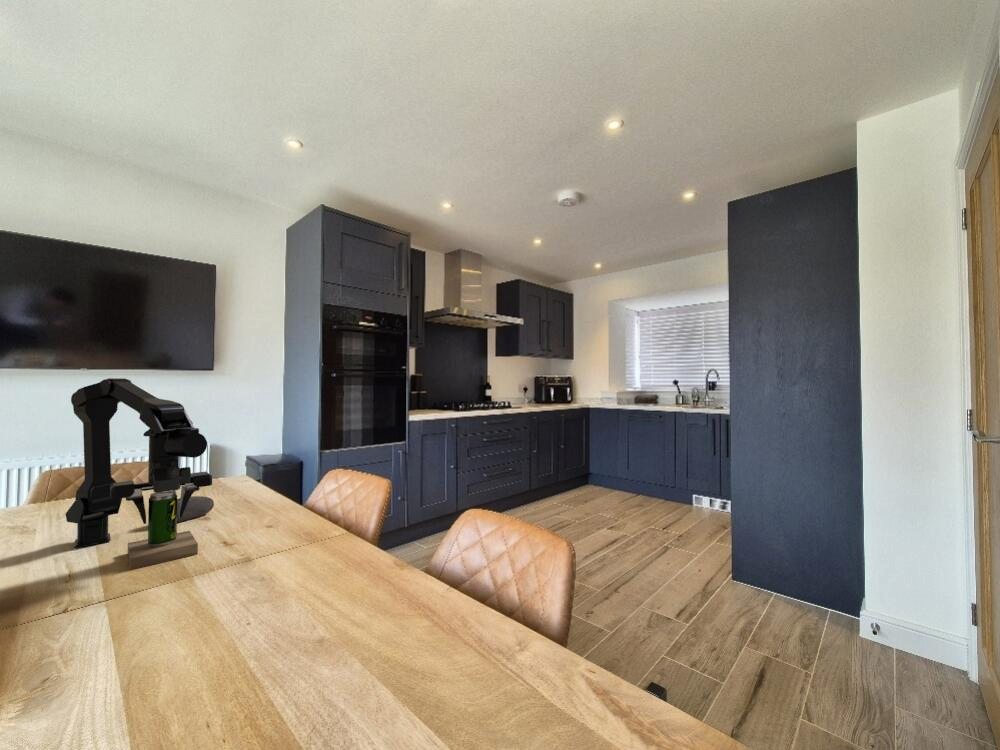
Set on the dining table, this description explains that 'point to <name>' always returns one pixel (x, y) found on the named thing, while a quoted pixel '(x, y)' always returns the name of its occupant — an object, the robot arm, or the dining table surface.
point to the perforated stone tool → (195, 507)
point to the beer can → (162, 518)
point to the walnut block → (161, 551)
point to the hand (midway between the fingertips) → (163, 520)
